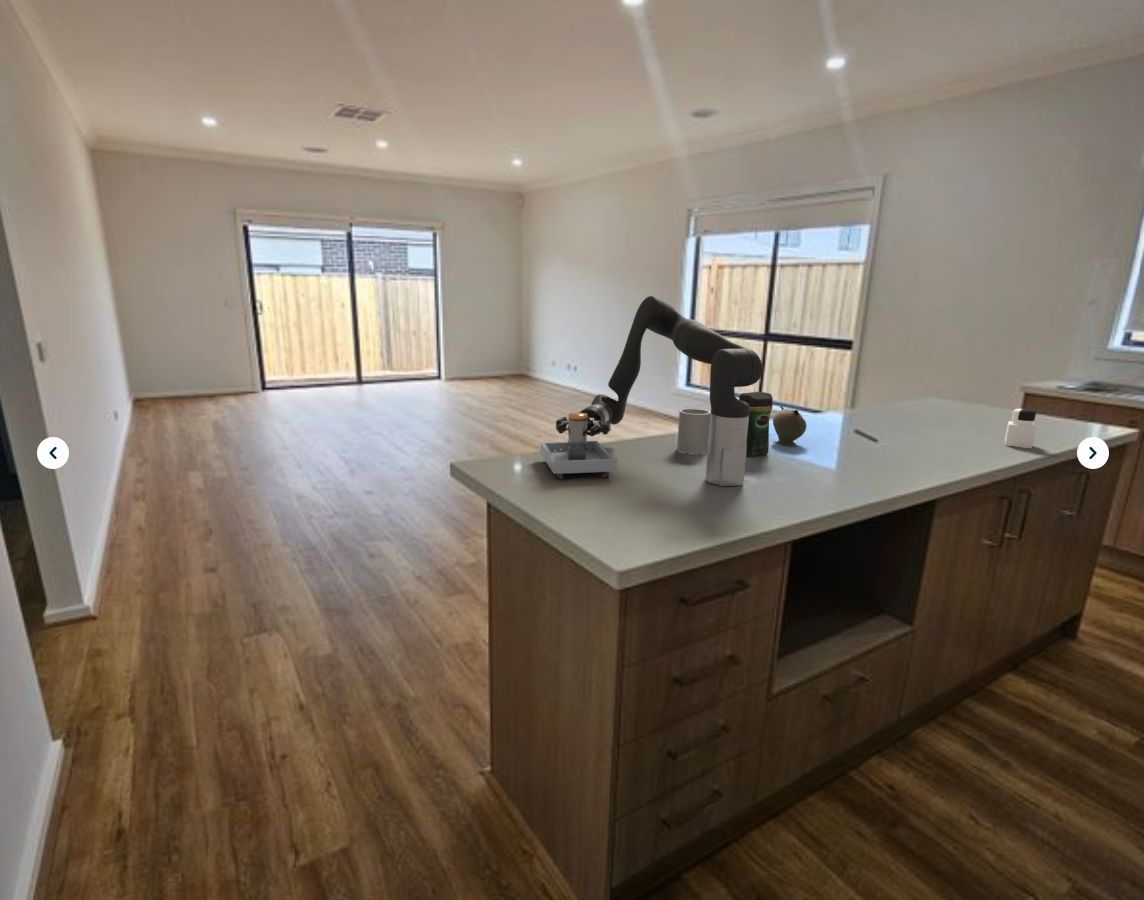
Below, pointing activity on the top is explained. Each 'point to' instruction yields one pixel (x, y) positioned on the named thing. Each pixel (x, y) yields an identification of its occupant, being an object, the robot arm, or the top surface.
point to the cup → (693, 431)
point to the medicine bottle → (1021, 429)
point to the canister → (577, 436)
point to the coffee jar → (758, 422)
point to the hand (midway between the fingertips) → (575, 431)
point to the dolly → (595, 460)
